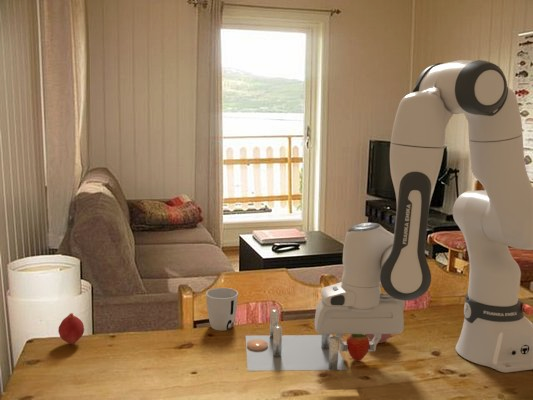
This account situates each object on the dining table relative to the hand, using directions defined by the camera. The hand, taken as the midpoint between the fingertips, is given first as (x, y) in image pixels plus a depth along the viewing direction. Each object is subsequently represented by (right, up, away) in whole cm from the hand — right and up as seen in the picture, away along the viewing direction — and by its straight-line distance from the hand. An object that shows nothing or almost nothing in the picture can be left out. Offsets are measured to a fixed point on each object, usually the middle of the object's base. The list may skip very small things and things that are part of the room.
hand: (357, 350), depth 128 cm
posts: (-13, -1, +2) cm, 13 cm away
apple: (+7, -1, +11) cm, 13 cm away
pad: (-23, 0, +5) cm, 24 cm away
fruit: (0, -3, +1) cm, 3 cm away
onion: (-68, 0, +6) cm, 68 cm away
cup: (-33, +1, +16) cm, 36 cm away
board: (-15, -2, +3) cm, 15 cm away
